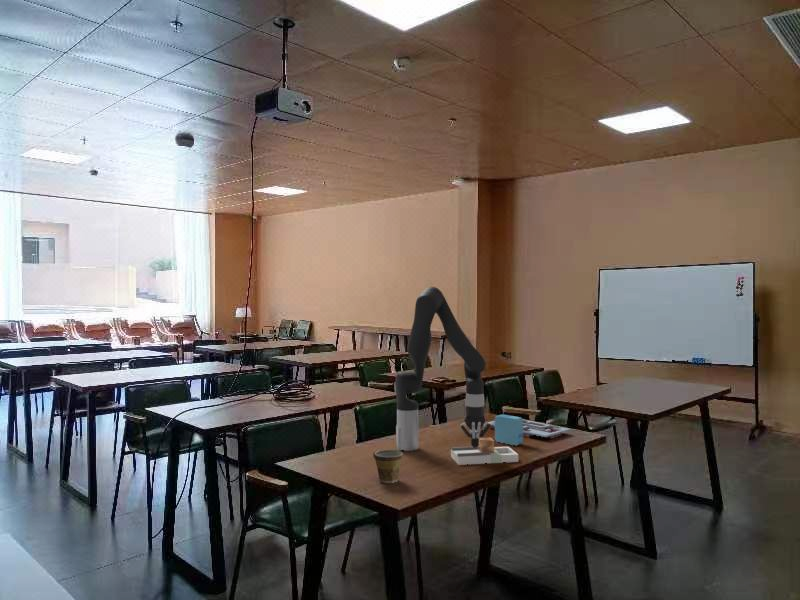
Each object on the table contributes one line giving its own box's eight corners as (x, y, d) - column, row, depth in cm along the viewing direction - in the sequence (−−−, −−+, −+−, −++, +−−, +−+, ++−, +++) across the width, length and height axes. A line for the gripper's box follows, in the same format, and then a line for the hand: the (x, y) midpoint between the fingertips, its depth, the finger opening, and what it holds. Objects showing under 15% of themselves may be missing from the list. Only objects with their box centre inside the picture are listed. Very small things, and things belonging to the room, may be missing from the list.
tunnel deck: (458, 464, 228) (458, 454, 228) (451, 456, 240) (451, 446, 240) (518, 461, 232) (518, 451, 232) (508, 453, 244) (508, 444, 244)
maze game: (486, 429, 289) (486, 422, 289) (511, 423, 302) (511, 416, 302) (545, 442, 262) (545, 435, 262) (570, 435, 275) (570, 428, 275)
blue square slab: (523, 444, 258) (523, 417, 258) (517, 446, 255) (517, 419, 255) (499, 440, 266) (499, 413, 266) (494, 441, 263) (494, 415, 263)
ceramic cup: (408, 480, 209) (408, 453, 209) (387, 487, 202) (387, 458, 202) (383, 473, 219) (383, 446, 218) (363, 479, 212) (363, 451, 211)
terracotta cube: (482, 453, 233) (482, 441, 233) (478, 450, 238) (478, 438, 238) (494, 453, 234) (494, 440, 234) (490, 449, 239) (490, 437, 239)
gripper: (461, 406, 230) (461, 450, 230) (493, 405, 232) (493, 449, 232) (456, 403, 238) (456, 445, 238) (487, 402, 240) (487, 444, 240)
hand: (474, 447), depth 235 cm, fingers closed
